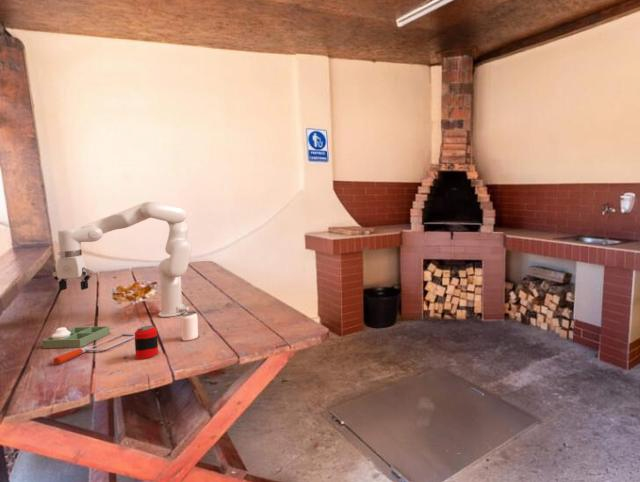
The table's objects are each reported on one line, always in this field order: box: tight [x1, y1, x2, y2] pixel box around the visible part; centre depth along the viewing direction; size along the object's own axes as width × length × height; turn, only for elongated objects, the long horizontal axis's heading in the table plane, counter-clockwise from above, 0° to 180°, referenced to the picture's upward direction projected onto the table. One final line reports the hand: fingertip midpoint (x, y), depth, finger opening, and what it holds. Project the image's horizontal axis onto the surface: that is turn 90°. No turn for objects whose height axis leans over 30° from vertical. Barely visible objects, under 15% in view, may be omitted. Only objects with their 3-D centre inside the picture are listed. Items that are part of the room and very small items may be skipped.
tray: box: [41, 325, 111, 349], centre depth 183 cm, size 16×16×4 cm
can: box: [180, 310, 199, 342], centre depth 184 cm, size 6×6×12 cm
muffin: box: [51, 326, 71, 340], centre depth 179 cm, size 6×6×7 cm
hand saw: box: [52, 332, 135, 365], centre depth 174 cm, size 33×3×10 cm
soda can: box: [134, 325, 159, 360], centre depth 166 cm, size 8×8×12 cm
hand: (73, 289), depth 186 cm, fingers open, 9 cm apart
